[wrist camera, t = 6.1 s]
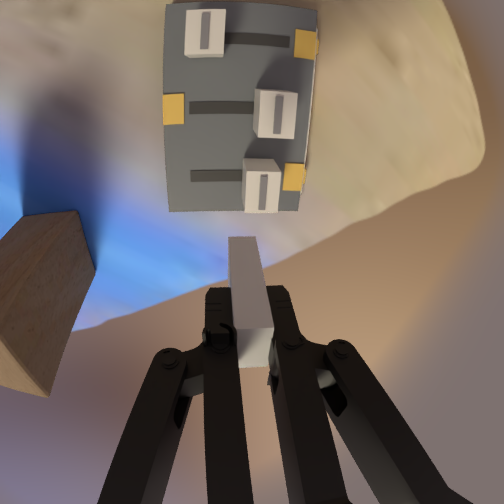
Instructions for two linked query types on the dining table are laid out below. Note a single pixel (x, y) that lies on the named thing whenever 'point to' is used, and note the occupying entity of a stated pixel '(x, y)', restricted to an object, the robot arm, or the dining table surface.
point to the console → (234, 103)
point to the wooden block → (40, 297)
